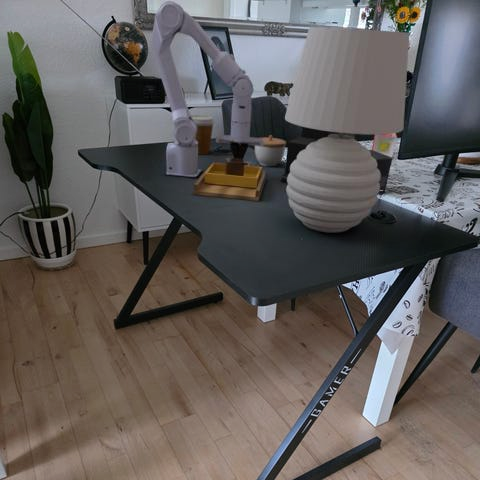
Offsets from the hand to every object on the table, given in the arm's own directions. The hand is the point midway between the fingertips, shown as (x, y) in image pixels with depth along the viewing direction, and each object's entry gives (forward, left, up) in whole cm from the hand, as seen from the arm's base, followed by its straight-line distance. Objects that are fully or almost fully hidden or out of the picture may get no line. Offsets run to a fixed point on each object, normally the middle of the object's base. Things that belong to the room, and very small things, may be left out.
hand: (238, 168), depth 140 cm
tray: (0, -6, -1) cm, 6 cm away
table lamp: (+27, -36, -3) cm, 45 cm away
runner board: (0, -12, -2) cm, 12 cm away
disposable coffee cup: (-18, +27, -3) cm, 33 cm away
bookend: (+23, +7, -3) cm, 24 cm away
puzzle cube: (+51, +51, -3) cm, 72 cm away
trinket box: (+8, +19, -3) cm, 21 cm away
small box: (+40, -1, -3) cm, 40 cm away
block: (0, -9, 0) cm, 9 cm away
